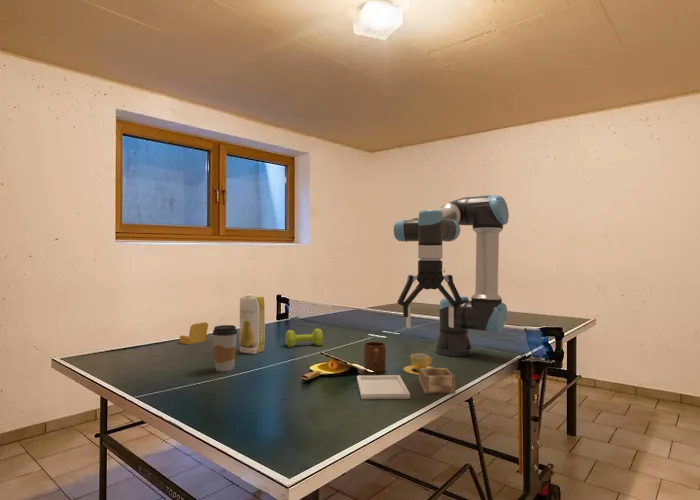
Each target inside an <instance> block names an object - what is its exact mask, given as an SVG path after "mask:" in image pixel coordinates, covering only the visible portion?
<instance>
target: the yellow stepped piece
mask: <svg viewBox="0 0 700 500" xmlns="http://www.w3.org/2000/svg"><path fill="white" fill-rule="evenodd" d="M208 327H209V324H208V322H206V321H205V322H204V321H203V322H198V323H197V322H196V323H193V324H191V325H190V329H189V333H188V336H187V335H183V334H182V335H180V336H179V339H178V343H179V344H182V345H191V344H196V343H201V342H202V343H203V342H207V341H208V339H209V333H208Z"/></svg>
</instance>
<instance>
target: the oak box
mask: <svg viewBox="0 0 700 500" xmlns="http://www.w3.org/2000/svg"><path fill="white" fill-rule="evenodd" d="M418 372H419V375H418V385H419V386H420V388H421V389H422V390H423V392H424V394H456V376H455V375H454V374H453V373H452V372H451V371H450V370H449V368H447V367H433V368H419V371H418Z"/></svg>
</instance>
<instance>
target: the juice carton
mask: <svg viewBox="0 0 700 500" xmlns="http://www.w3.org/2000/svg"><path fill="white" fill-rule="evenodd" d="M265 308H266V302H265V296H254V293H249V294H248V293H247V295H246V296H241V297H240V299H239V352H240V353H245V354H253V355H256V354H258V353H261V352H263V351H264V350H265V337H266V336H265V335H266V334H265V333H266V326H265V324H266V321H265V320H266V316H265V315H266V314H265V313H266V309H265Z"/></svg>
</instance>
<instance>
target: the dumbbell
mask: <svg viewBox="0 0 700 500" xmlns="http://www.w3.org/2000/svg"><path fill="white" fill-rule="evenodd" d="M284 340H285V345H286V347H288V348H293V347H295V345H296V343H300V342H312V343H313V344H314V345H315V346H317V347H319V346H322V345H323V342H324V333H323V330H322V329H321V328H314V329H313V331H312V333H310V334H308V333H307V334H296V332H295V331H294V330H292V329H288V330H286V331H285V339H284Z"/></svg>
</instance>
